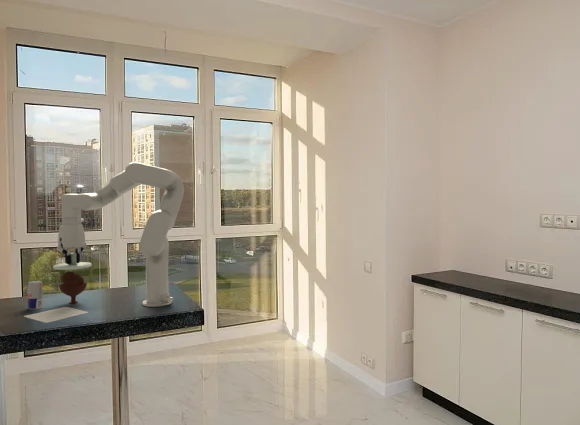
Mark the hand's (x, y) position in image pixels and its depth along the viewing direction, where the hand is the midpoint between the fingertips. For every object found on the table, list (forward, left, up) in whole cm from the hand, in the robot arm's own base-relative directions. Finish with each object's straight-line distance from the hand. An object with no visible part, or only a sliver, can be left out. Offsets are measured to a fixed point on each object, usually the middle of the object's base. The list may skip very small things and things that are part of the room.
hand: (72, 263), depth 184 cm
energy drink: (+6, +13, -19) cm, 24 cm away
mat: (-12, +14, -19) cm, 26 cm away
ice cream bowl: (0, 0, -19) cm, 19 cm away
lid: (0, 0, -2) cm, 2 cm away
